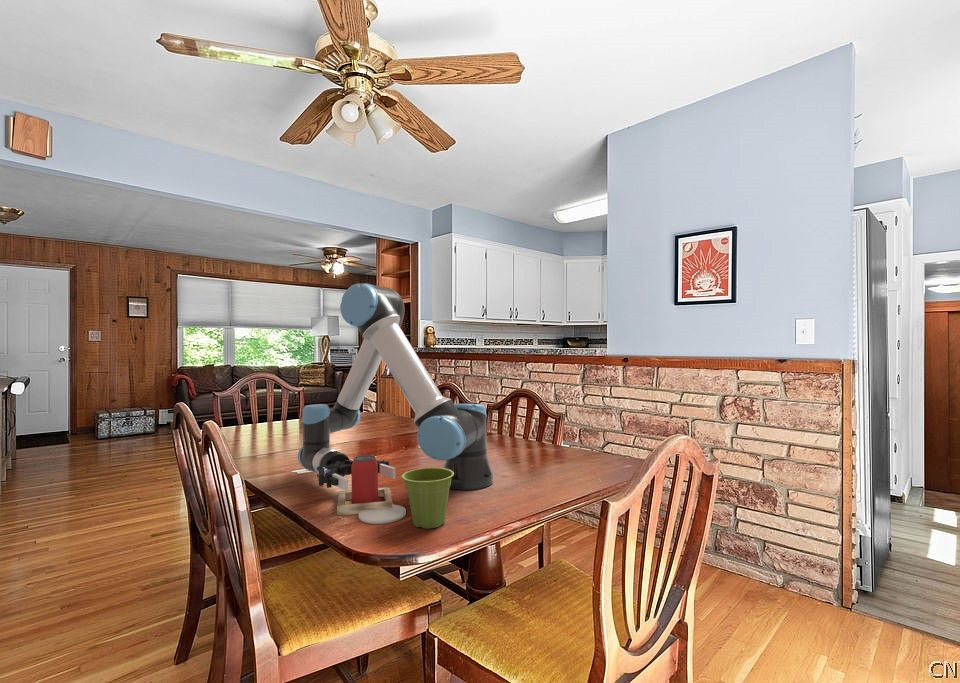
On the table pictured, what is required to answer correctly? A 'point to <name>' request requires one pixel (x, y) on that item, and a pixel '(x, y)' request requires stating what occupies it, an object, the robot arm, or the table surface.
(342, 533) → the table surface
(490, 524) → the table surface
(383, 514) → the white plate
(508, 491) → the table surface
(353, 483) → the beer can
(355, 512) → the frame
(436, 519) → the plant pot
